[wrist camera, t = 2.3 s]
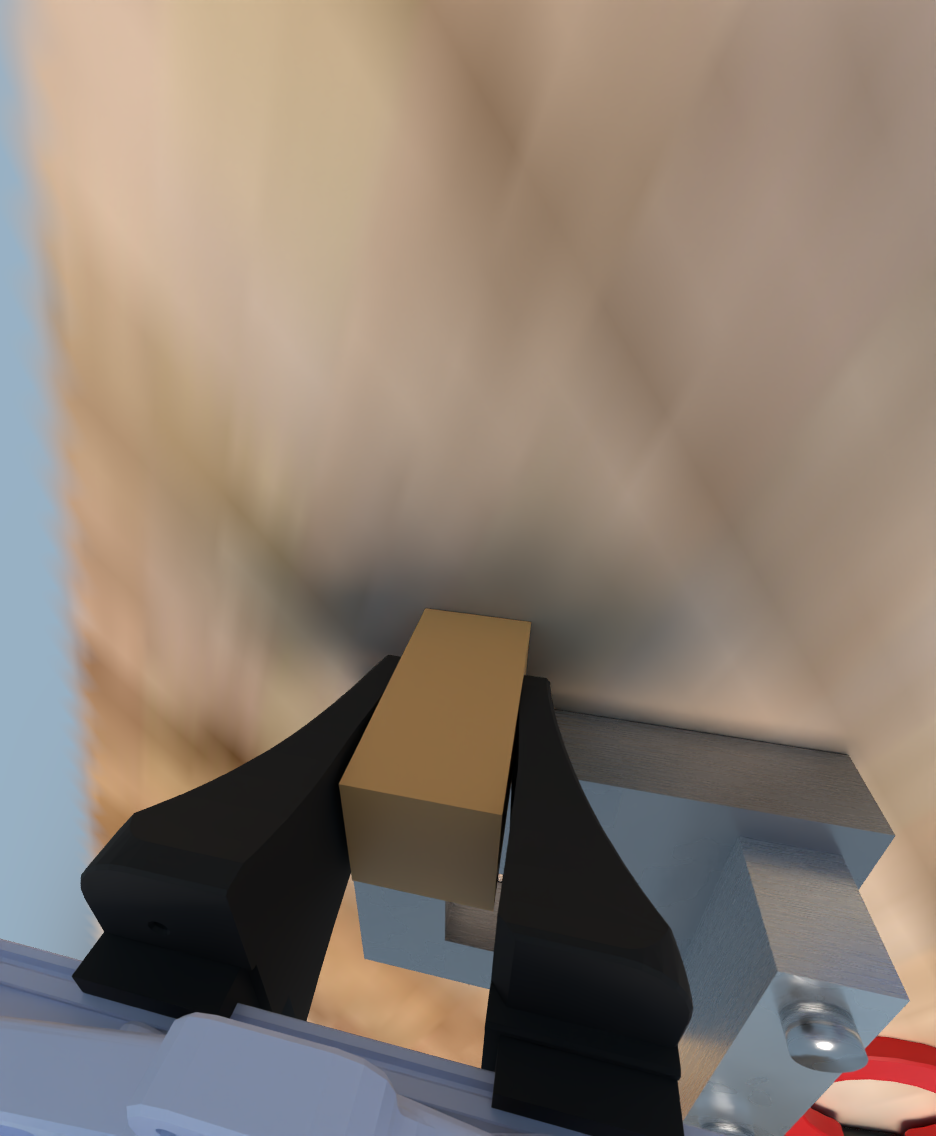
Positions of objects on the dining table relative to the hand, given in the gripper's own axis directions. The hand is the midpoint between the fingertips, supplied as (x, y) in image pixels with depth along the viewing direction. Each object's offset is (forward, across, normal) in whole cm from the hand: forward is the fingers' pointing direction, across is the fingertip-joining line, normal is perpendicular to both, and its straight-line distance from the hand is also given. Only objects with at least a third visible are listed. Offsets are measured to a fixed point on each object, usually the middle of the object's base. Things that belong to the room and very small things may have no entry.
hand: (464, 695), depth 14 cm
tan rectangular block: (+2, 0, 0) cm, 2 cm away
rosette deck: (+2, -4, +8) cm, 8 cm away
